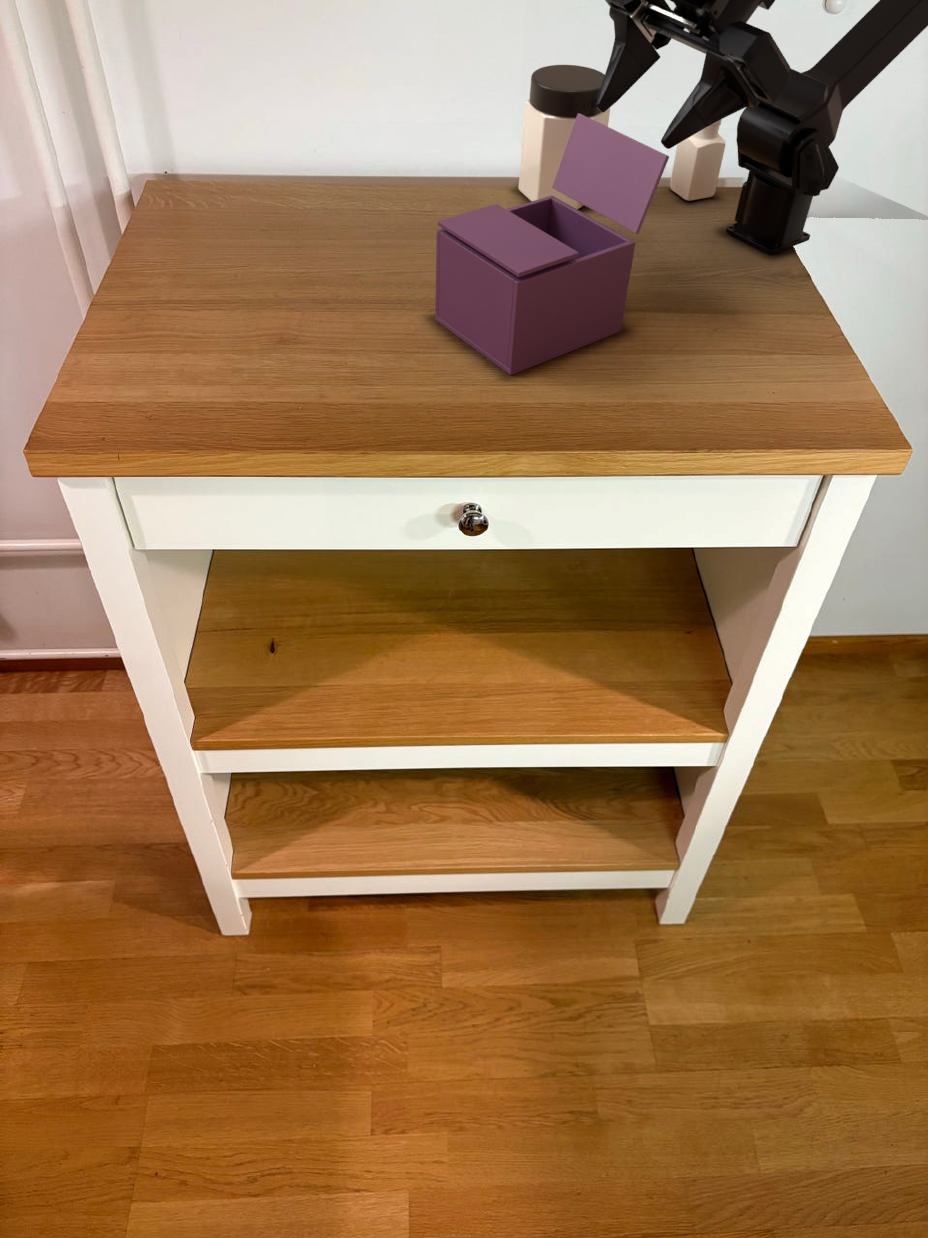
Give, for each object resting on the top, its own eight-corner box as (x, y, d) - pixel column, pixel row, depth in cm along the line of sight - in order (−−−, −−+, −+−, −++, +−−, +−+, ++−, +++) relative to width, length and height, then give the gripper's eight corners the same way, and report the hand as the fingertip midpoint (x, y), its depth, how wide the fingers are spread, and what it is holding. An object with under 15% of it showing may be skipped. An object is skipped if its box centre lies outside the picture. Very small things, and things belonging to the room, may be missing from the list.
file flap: (551, 187, 89) (554, 187, 89) (635, 233, 83) (638, 234, 83) (577, 112, 86) (580, 113, 86) (666, 155, 80) (669, 156, 80)
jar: (568, 218, 106) (582, 98, 97) (505, 196, 109) (513, 78, 100) (610, 191, 111) (626, 75, 102) (549, 171, 114) (560, 57, 105)
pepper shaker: (666, 188, 112) (683, 99, 105) (695, 183, 113) (714, 95, 106) (686, 203, 109) (704, 112, 103) (716, 198, 111) (736, 107, 104)
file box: (543, 282, 96) (552, 186, 89) (620, 331, 90) (637, 232, 83) (435, 320, 90) (436, 220, 83) (510, 375, 84) (518, 273, 78)
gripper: (633, -141, 80) (518, 36, 85) (796, -91, 70) (654, 109, 74) (693, -46, 89) (586, 111, 94) (847, 12, 78) (716, 185, 83)
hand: (630, 126), depth 86 cm, fingers open, 9 cm apart
